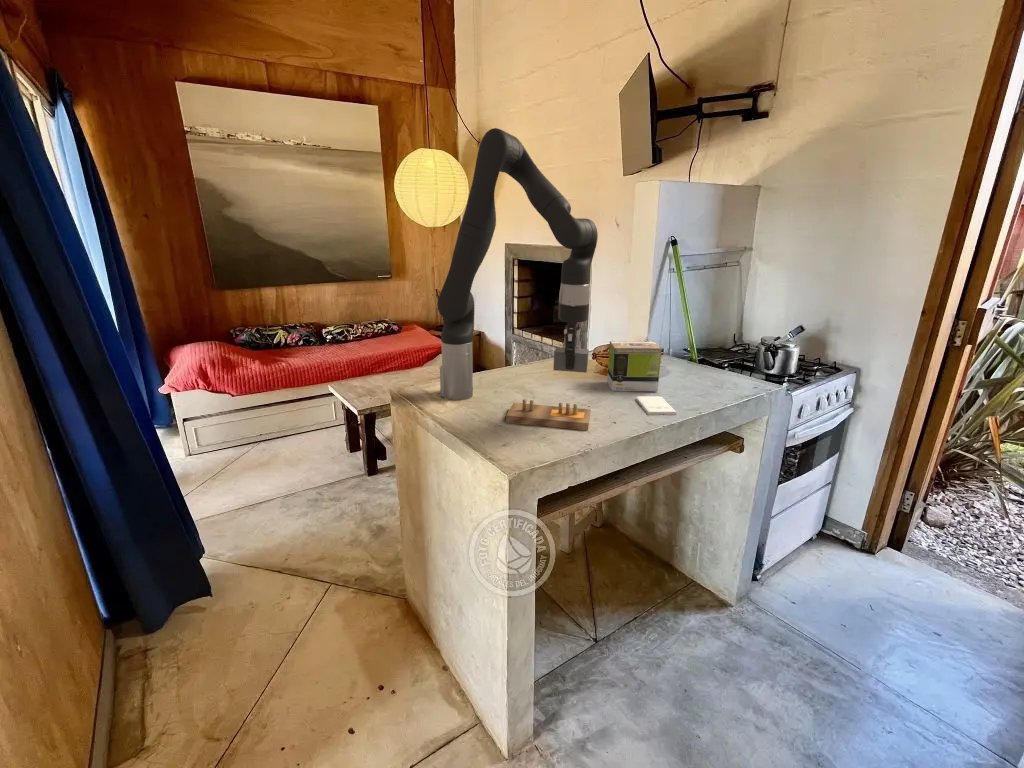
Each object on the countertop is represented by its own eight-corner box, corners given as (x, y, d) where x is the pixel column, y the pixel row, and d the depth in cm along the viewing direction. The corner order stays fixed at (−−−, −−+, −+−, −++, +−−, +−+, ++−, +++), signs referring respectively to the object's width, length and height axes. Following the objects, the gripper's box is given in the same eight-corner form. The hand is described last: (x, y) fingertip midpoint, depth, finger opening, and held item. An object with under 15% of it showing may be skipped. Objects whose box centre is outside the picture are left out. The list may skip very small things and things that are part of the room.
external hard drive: (661, 401, 153) (676, 416, 141) (635, 401, 152) (647, 416, 140) (661, 396, 152) (676, 411, 140) (635, 396, 152) (648, 411, 140)
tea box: (650, 382, 168) (655, 340, 163) (657, 392, 158) (663, 348, 154) (606, 381, 168) (609, 339, 163) (610, 391, 159) (614, 347, 154)
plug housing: (553, 370, 129) (554, 351, 127) (555, 365, 133) (556, 347, 132) (586, 372, 127) (587, 353, 126) (587, 367, 132) (588, 349, 130)
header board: (506, 422, 133) (506, 405, 132) (513, 409, 143) (513, 392, 141) (588, 430, 129) (589, 412, 128) (590, 416, 139) (591, 399, 137)
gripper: (562, 296, 132) (559, 358, 137) (555, 305, 119) (553, 373, 124) (590, 297, 130) (586, 359, 136) (587, 307, 117) (583, 375, 123)
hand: (570, 365), depth 130 cm, fingers closed on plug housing, 4 cm apart
